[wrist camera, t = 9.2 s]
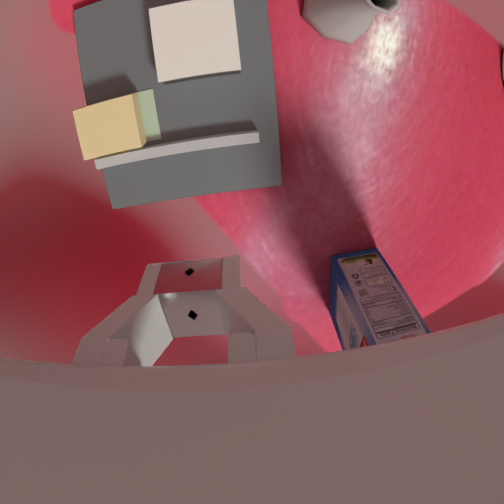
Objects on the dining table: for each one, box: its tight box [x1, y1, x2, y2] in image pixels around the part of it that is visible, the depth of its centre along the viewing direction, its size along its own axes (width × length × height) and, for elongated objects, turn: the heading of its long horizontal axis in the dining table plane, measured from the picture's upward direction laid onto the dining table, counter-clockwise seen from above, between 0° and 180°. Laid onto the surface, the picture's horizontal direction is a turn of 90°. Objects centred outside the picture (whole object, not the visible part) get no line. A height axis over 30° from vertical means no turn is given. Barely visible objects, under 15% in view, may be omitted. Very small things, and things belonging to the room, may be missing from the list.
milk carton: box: [330, 248, 430, 350], centre depth 33 cm, size 10×6×20 cm, turn 8°
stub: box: [73, 92, 147, 160], centre depth 26 cm, size 6×5×2 cm
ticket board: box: [73, 0, 282, 209], centre depth 25 cm, size 18×22×4 cm
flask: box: [302, 0, 401, 44], centre depth 19 cm, size 7×7×10 cm
